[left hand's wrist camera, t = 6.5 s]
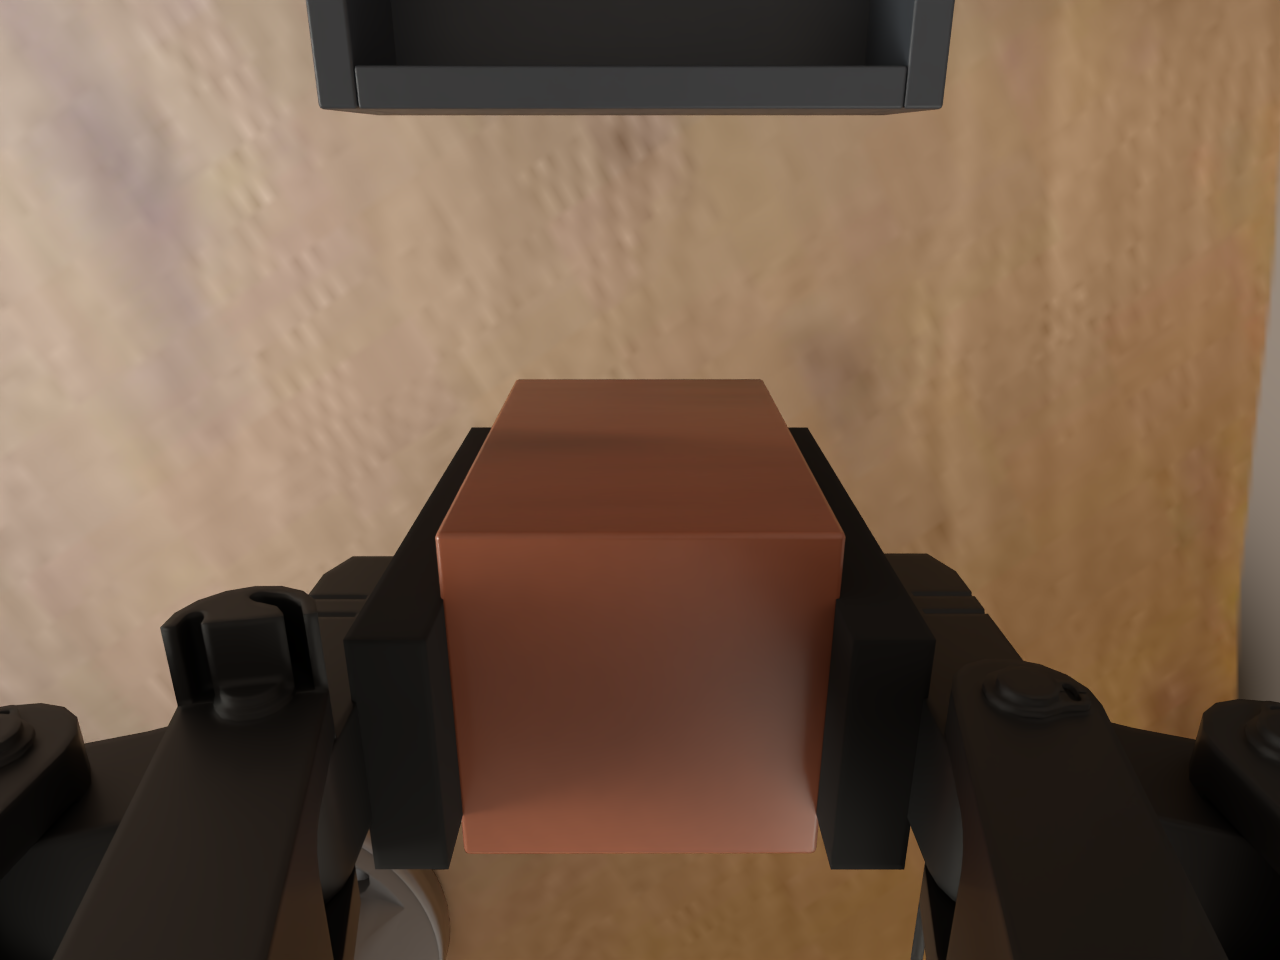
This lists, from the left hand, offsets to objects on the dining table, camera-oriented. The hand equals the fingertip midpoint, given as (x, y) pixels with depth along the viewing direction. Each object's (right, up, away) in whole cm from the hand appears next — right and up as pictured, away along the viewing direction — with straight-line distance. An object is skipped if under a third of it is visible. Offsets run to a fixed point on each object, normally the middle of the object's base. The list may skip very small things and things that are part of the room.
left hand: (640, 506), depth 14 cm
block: (0, 0, 0) cm, 0 cm away
